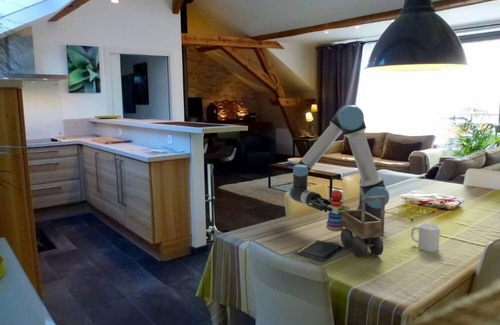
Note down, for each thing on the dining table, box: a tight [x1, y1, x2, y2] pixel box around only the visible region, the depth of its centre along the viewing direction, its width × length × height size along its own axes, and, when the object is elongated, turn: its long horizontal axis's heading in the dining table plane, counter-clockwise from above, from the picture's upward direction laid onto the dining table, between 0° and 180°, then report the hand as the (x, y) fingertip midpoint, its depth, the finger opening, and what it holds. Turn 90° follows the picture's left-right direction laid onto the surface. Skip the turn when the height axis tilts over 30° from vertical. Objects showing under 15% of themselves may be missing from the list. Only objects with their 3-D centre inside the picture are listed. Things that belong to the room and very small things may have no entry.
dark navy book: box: [293, 240, 345, 263], centre depth 174 cm, size 20×2×15 cm
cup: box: [410, 223, 441, 253], centre depth 175 cm, size 8×12×10 cm
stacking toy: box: [325, 190, 344, 232], centre depth 184 cm, size 8×8×19 cm
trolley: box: [340, 196, 386, 259], centre depth 170 cm, size 10×19×27 cm, turn 14°
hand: (343, 210), depth 180 cm, fingers closed on stacking toy, 6 cm apart
